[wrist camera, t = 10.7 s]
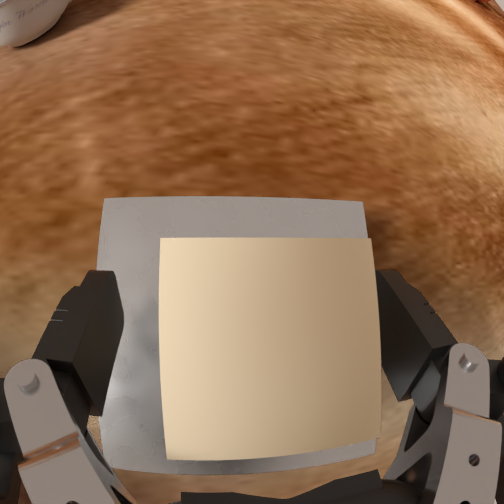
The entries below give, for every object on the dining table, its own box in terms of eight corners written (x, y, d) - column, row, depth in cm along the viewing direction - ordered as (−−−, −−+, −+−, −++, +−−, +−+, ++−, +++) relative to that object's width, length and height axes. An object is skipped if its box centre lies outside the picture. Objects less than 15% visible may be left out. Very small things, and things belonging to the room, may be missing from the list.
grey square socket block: (131, 435, 15) (105, 466, 10) (130, 232, 18) (104, 198, 13) (337, 427, 16) (375, 453, 11) (328, 233, 19) (362, 201, 14)
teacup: (-14, 71, 20) (-41, 26, 12) (14, 22, 23) (-3, -19, 15) (91, 31, 22) (74, -29, 15) (107, -10, 25) (98, -59, 17)
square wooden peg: (200, 370, 15) (167, 459, 4) (198, 306, 16) (160, 238, 5) (265, 368, 16) (380, 437, 4) (263, 305, 17) (371, 238, 5)
